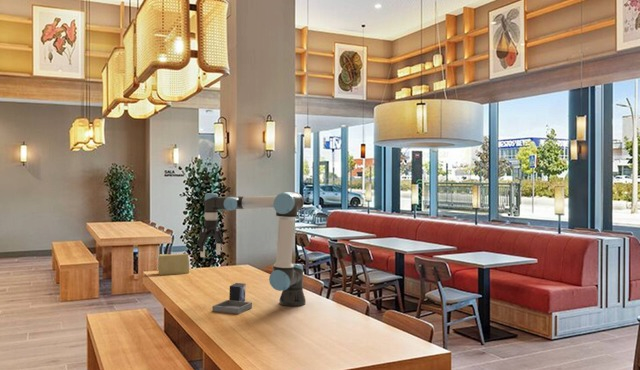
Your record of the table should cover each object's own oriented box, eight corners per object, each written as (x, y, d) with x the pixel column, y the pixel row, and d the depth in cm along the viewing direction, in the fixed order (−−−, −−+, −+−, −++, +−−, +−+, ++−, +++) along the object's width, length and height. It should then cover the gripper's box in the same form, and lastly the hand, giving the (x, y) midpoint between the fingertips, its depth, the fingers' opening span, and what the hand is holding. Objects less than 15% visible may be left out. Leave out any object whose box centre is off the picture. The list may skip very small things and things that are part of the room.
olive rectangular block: (188, 272, 400) (188, 252, 400) (189, 274, 390) (189, 254, 390) (158, 273, 392) (158, 253, 392) (158, 275, 383) (159, 255, 383)
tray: (251, 307, 288) (252, 302, 288) (237, 314, 274) (238, 308, 274) (227, 305, 294) (227, 299, 294) (212, 311, 279) (212, 305, 279)
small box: (239, 305, 295) (239, 286, 295) (228, 304, 296) (229, 285, 296) (245, 301, 305) (246, 283, 305) (235, 300, 307) (235, 282, 307)
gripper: (220, 218, 318) (219, 252, 318) (191, 220, 296) (190, 257, 296) (229, 218, 314) (229, 253, 314) (201, 221, 292) (200, 258, 292)
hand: (210, 255), depth 305 cm, fingers open, 13 cm apart
